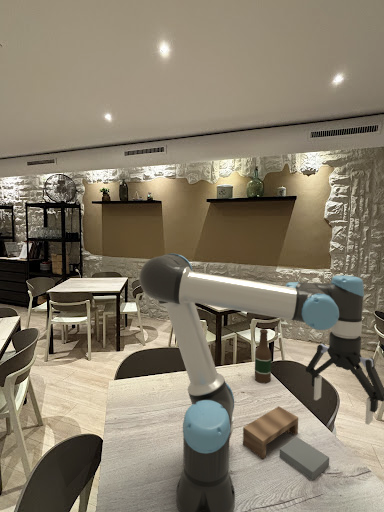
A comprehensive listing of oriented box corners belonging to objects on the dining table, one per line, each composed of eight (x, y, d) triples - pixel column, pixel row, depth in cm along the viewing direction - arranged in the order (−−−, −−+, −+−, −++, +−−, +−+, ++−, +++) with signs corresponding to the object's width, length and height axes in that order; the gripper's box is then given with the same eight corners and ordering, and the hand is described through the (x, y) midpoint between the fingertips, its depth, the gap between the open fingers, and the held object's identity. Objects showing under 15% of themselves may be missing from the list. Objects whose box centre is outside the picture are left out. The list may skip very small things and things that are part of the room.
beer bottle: (267, 385, 132) (269, 333, 130) (251, 380, 136) (252, 330, 134) (273, 378, 138) (274, 329, 136) (257, 373, 142) (258, 326, 140)
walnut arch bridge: (262, 459, 89) (263, 441, 88) (242, 444, 95) (243, 427, 95) (297, 433, 100) (298, 417, 100) (278, 421, 107) (278, 406, 106)
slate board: (312, 482, 81) (312, 472, 81) (279, 457, 90) (279, 448, 90) (328, 466, 87) (329, 457, 86) (296, 445, 95) (296, 436, 95)
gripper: (405, 344, 70) (399, 427, 72) (308, 320, 90) (305, 386, 91) (395, 352, 66) (389, 440, 67) (295, 325, 85) (292, 394, 87)
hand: (341, 409), depth 79 cm, fingers open, 13 cm apart
